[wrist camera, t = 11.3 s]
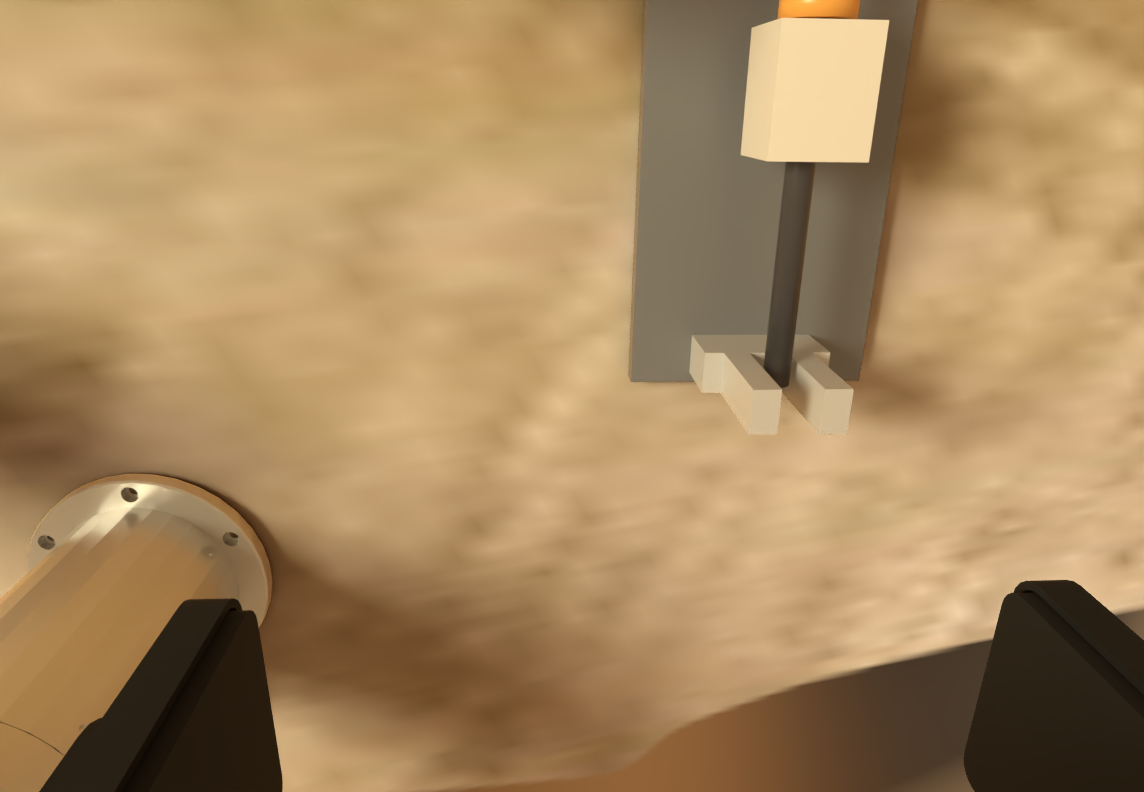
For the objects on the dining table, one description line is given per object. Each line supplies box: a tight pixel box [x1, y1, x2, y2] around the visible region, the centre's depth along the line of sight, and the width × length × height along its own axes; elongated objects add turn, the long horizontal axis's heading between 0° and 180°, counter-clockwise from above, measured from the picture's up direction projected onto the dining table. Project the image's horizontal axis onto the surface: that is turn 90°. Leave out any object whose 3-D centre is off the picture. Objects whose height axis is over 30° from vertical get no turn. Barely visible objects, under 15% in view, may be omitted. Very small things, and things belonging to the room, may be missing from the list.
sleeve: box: [741, 18, 889, 163], centre depth 31 cm, size 5×4×4 cm
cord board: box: [629, 0, 918, 435], centre depth 32 cm, size 24×12×9 cm, turn 179°
